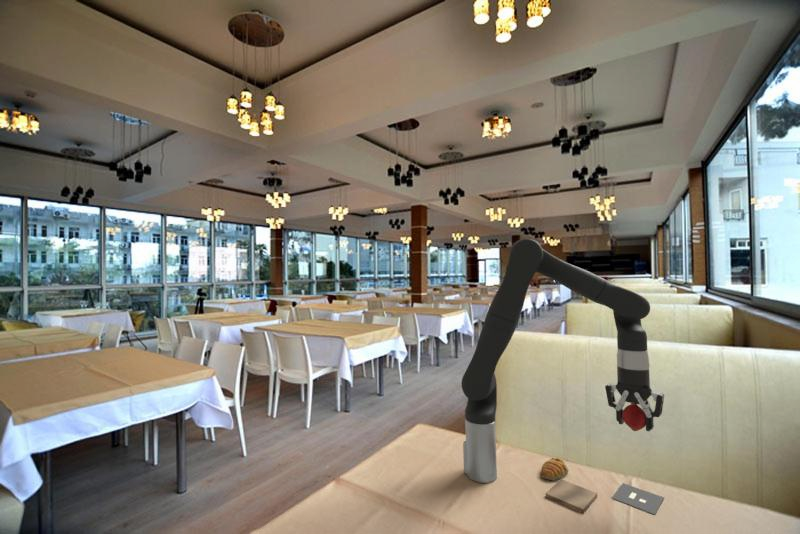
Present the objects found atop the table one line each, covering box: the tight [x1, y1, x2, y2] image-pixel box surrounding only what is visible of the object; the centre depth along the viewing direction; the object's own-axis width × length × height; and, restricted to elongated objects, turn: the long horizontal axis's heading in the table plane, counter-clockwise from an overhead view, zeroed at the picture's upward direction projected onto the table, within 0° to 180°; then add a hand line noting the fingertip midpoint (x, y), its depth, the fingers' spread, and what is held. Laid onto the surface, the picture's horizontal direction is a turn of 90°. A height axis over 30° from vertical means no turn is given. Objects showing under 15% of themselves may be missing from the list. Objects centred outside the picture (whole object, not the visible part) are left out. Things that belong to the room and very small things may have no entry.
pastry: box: [540, 457, 570, 481], centre depth 113 cm, size 9×7×4 cm
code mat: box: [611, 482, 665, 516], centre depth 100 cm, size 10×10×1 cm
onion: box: [622, 402, 646, 432], centre depth 101 cm, size 6×6×8 cm
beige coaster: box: [545, 478, 598, 514], centre depth 101 cm, size 10×10×1 cm
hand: (634, 426), depth 101 cm, fingers closed on onion, 6 cm apart
